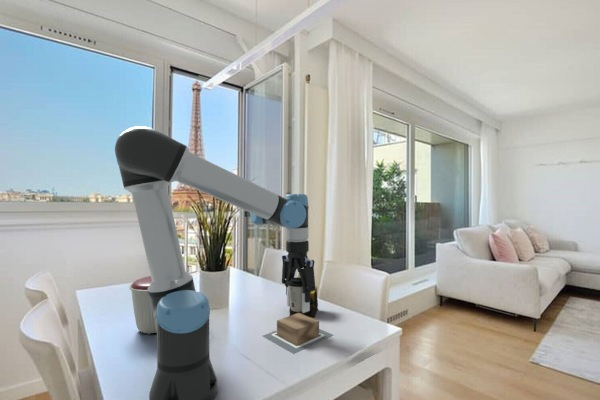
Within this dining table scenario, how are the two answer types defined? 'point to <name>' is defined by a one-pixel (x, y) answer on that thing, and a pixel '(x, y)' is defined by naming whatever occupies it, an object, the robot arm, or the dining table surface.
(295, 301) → the coffee cup
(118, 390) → the dining table surface
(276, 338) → the gray placemat
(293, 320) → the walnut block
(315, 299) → the candle
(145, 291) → the canister
